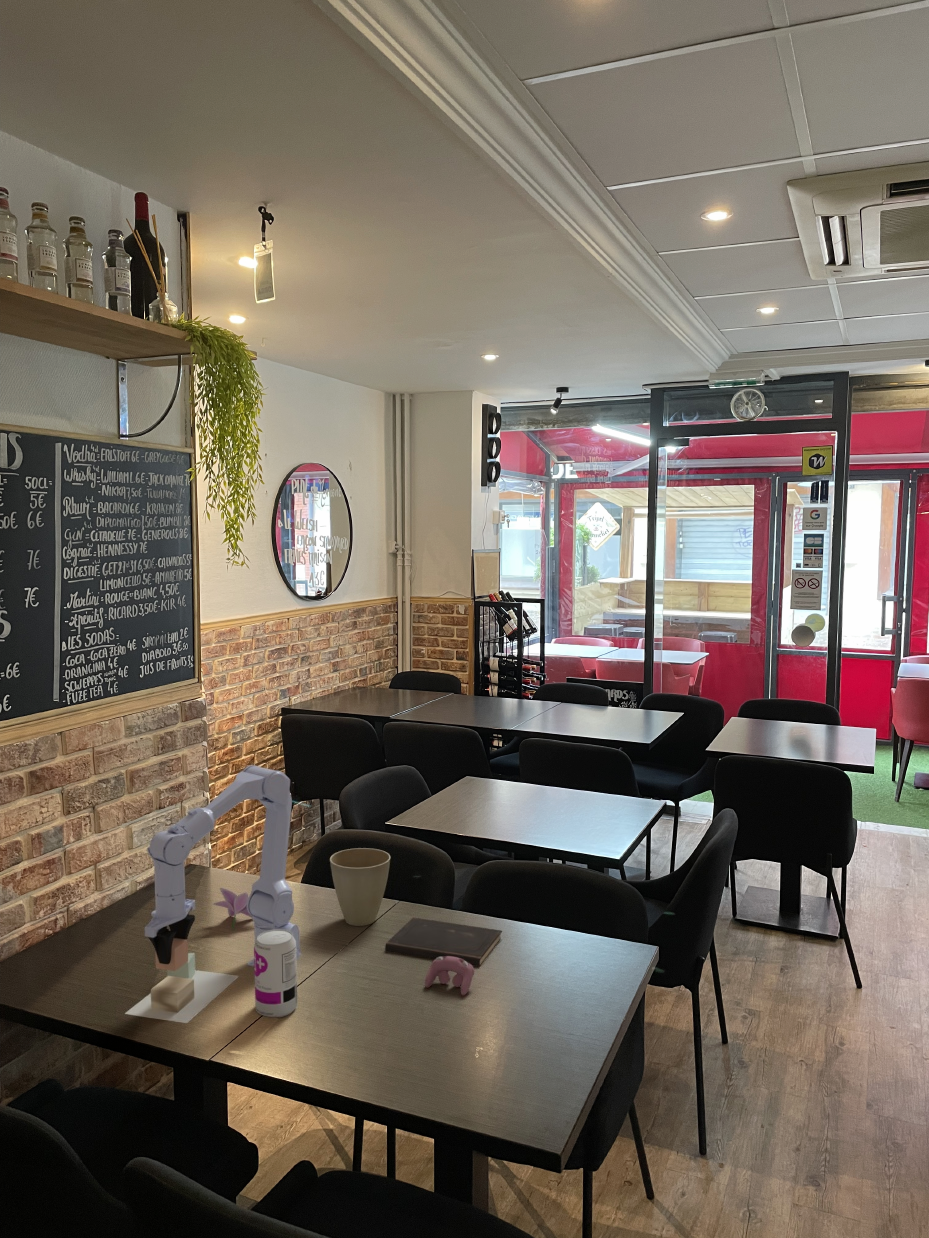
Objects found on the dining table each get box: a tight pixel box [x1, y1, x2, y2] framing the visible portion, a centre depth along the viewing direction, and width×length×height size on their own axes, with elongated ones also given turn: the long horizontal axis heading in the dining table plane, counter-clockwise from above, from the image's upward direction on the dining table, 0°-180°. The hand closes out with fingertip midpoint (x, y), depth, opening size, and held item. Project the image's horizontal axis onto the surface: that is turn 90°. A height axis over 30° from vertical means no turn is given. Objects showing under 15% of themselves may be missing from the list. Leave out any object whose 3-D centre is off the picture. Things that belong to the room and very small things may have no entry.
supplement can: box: [253, 929, 298, 1019], centre depth 179 cm, size 8×8×15 cm
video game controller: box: [424, 956, 475, 996], centre depth 189 cm, size 10×5×7 cm, turn 66°
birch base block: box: [150, 976, 194, 1013], centre depth 181 cm, size 6×6×4 cm
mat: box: [124, 969, 240, 1024], centre depth 185 cm, size 14×20×1 cm
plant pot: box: [329, 847, 391, 927], centre depth 223 cm, size 15×15×16 cm
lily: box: [212, 887, 253, 931], centre depth 221 cm, size 12×12×10 cm
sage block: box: [166, 952, 196, 979], centre depth 192 cm, size 4×4×4 cm
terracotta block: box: [154, 938, 189, 971], centre depth 181 cm, size 4×4×4 cm
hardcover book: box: [384, 917, 503, 968], centre depth 209 cm, size 16×23×2 cm
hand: (172, 957), depth 181 cm, fingers closed on terracotta block, 4 cm apart
